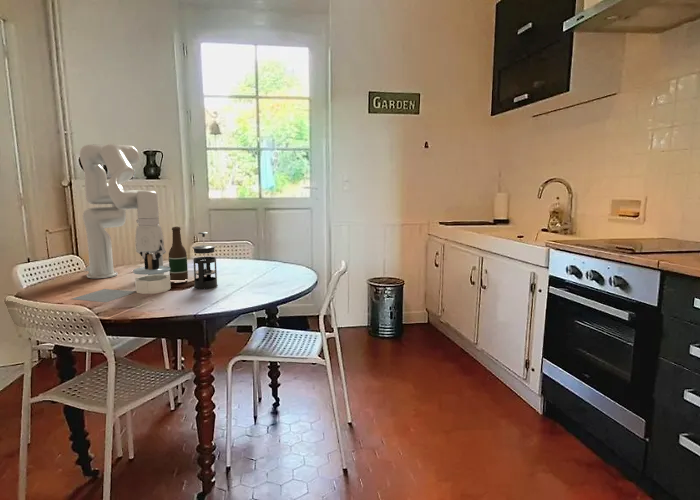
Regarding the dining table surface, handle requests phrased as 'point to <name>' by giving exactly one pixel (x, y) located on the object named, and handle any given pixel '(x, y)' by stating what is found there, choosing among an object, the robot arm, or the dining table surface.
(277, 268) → the dining table surface
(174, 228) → the beer bottle
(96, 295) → the mat
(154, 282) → the bowl
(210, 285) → the french press
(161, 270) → the lid
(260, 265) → the dining table surface
